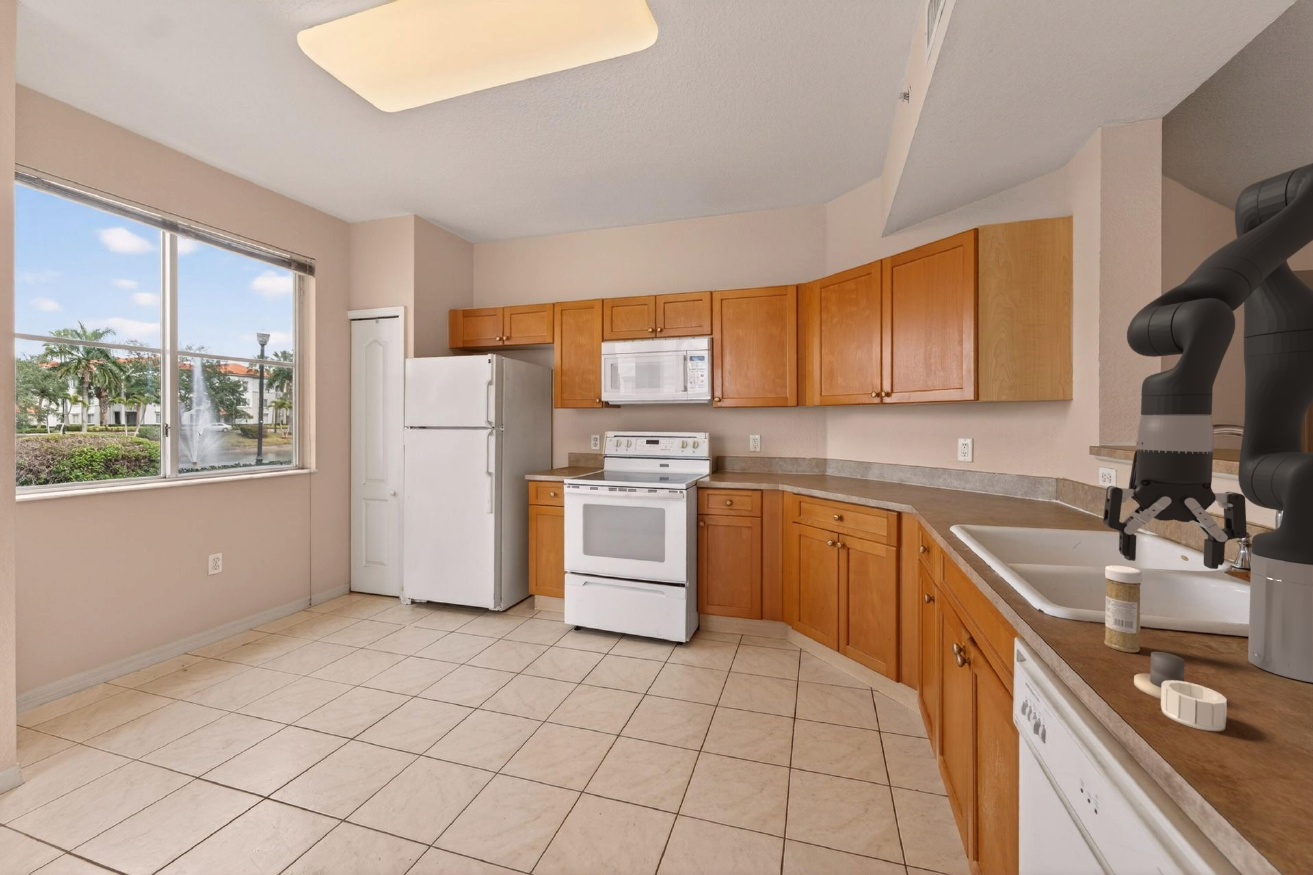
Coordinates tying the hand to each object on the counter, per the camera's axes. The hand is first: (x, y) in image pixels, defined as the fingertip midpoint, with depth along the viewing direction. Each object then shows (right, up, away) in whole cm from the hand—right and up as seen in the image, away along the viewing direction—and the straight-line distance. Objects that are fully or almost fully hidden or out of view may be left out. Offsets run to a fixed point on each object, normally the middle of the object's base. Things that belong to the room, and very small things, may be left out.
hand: (1169, 563), depth 73 cm
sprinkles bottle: (+6, -18, +15) cm, 24 cm away
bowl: (-3, -18, -6) cm, 20 cm away
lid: (0, -18, +1) cm, 18 cm away
